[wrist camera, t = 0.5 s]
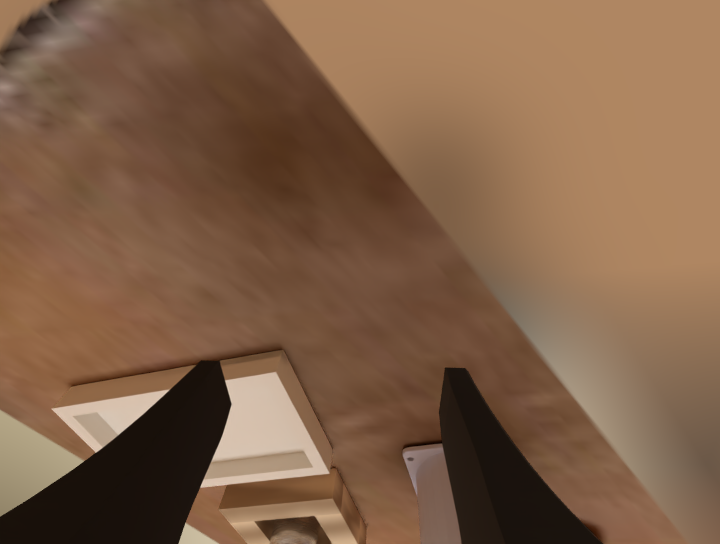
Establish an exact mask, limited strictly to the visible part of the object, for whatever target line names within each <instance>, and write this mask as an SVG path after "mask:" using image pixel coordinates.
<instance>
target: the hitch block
mask: <svg viewBox="0 0 720 544" xmlns="http://www.w3.org/2000/svg"><path fill="white" fill-rule="evenodd" d="M218 510H219V511H220V512H221V513H222V514H223V516H224V517H225V518H226V519H227V520H228V521H229V523H230V524H231V525H232V526H233V527H234V528H235V530H236V531H237V532H238V533H239V534H240V536H241V537H242V538H243V539H244V540H245V541H246V543H247V544H270V540H271V535H272V531H273V527H274V522H275V519H285V518H296V517H308V516H315V517H316V519H317V520H318V522H319V523H320V526H319V534H318V541H317V544H366V526H365V524H364V522H363V520H362V518H361V516H360V514H359V512H358V510H357V508H356V506H355V504H354V502H353V500H352V498H351V496H350V494H349V493H348V491H347V489H346V487H345V485H344V483H343V481H342V479H341V477H340V475H339V473H338V471H337V469H336V468H332V469H330V474H322V475H313V476H303V477H294V478H285V479H275V480H266V481H257V482H247V483H238V484H229V485H227V486H226V489H225V492H224V495H223V498H222V501H221V503H220V506H219V509H218Z"/></svg>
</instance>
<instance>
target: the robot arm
mask: <svg viewBox="0 0 720 544" xmlns="http://www.w3.org/2000/svg"><path fill="white" fill-rule="evenodd" d="M231 405H232V403H231V400H230V396H229V393H228V389H227V386H226V382H225V378H224V375H223V371H222V368H221V364H220V361H202V360H201V361H200V362H199V363H198V364H197V365H196V366H195V367H194V368H193V369H192V370H190V371H189V372H188V373H187V374H186V375H185V376H184V377H183V378H182V379H181V380H180V381H179V382H178V383H177V384H175V385H174V386H173V387H172V388H171V389H170V390H169V391H168V392H167V393H166V394H165V395H164V396H163V397H161V398H160V399H159V400H158V401H157V402H156V403H155V404H154V405H153V406H152V407H150V408H149V409H148V410H147V411H146V412H145V413H144V414H143V415H142V416H140V417H139V418H138V419H137V420H136V421H134V422H133V423H132V424H131V425H130V426H128V427H127V428H126V429H125V430H124V431H123V432H121V433H120V434H119V435H118V436H117V437H115V438H114V439H113V440H112V441H110V442H109V443H108V444H107V445H105V446H104V447H103V448H102V449H100V450H99V451H98V452H96V453H95V454H94V455H92V456H91V457H90V458H88V459H87V460H85V461H84V462H83V463H81V464H80V465H79V466H77V467H76V468H75V469H73V470H72V471H70V472H69V473H68V474H66V475H64V476H63V477H62V478H60V479H58V480H57V481H56V482H54V483H52V484H51V485H49V486H48V487H46V488H45V489H43V490H42V491H40V492H39V493H37V494H36V495H34V496H33V497H31V498H30V499H28V500H27V501H25V502H23V503H22V504H20V505H19V506H17V507H15V508H14V509H12V510H10V511H9V512H7V513H6V514H4V515H2V516H1V517H0V544H178V543H179V540H180V537H181V534H182V531H183V528H184V525H185V522H186V520H187V517H188V515H189V512H190V510H191V507H192V505H193V502H194V500H195V498H196V496H197V493H198V491H199V489H200V486H201V484H202V482H203V480H204V477H205V475H206V473H207V470H208V468H209V466H210V464H211V461H212V459H213V457H214V454H215V452H216V450H217V447H218V445H219V443H220V440H221V438H222V435H223V432H224V429H225V426H226V423H227V419H228V416H229V412H230V409H231ZM439 416H440V427H441V437H442V443H441V444H432V445H423V446H415V447H407V448H405V449H403V457H404V460H405V463H406V466H407V469H408V472H409V475H410V477H411V480H412V483H413V486H414V489H415V492H416V495H417V499H418V513H419V526H420V540H421V544H603V543H602V542H601V541H600V540H599V539H598V538H597V537H596V536H595V535H594V534H593V533H592V532H591V531H590V530H589V529H588V528H587V527H586V526H585V525H584V524H583V523H582V522H581V521H580V520H579V519H578V518H577V517H576V516H575V515H574V514H573V513H572V512H571V511H570V510H569V509H568V508H567V506H566V505H565V504H564V503H563V502H562V501H561V500H560V499H559V498H558V497H557V495H556V494H555V493H554V492H553V491H552V490H551V489H550V488H549V486H548V485H547V484H546V483H545V482H544V481H543V479H542V478H541V477H540V476H539V475H538V473H537V472H536V471H535V470H534V469H533V467H532V466H531V465H530V464H529V462H528V461H527V460H526V459H525V457H524V456H523V455H522V453H521V452H520V451H519V449H518V448H517V447H516V445H515V444H514V443H513V441H512V440H511V439H510V437H509V436H508V434H507V433H506V432H505V430H504V429H503V427H502V426H501V424H500V423H499V421H498V420H497V418H496V417H495V416H494V414H493V413H492V411H491V409H490V408H489V406H488V405H487V403H486V402H485V400H484V398H483V397H482V395H481V393H480V392H479V390H478V388H477V387H476V385H475V383H474V381H473V379H472V378H471V376H470V374H469V372H468V371H467V370H466V369H465V368H445V372H444V380H443V387H442V394H441V402H440V409H439Z"/></svg>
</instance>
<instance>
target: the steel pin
mask: <svg viewBox="0 0 720 544" xmlns="http://www.w3.org/2000/svg"><path fill="white" fill-rule="evenodd" d="M319 526H320V523H319V522H318V520H317V519H316V517H315V516H308V517H296V518H285V519H275V522H274V527H273V531H272V535H271V540H270V544H317V541H318V534H319Z"/></svg>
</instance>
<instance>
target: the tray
mask: <svg viewBox="0 0 720 544" xmlns="http://www.w3.org/2000/svg"><path fill="white" fill-rule="evenodd" d="M220 364H221V368H222V371H223V375H224V378H225V382H226V386H227V389H228V393H229V396H230V400H231V403H232V405H231V409H230V412H229V416H228V419H227V423H226V426H225V429H224V432H223V435H222V438H221V440H220V443H219V445H218V447H217V450H216V452H215V454H214V457H213V459H212V461H211V464H210V466H209V468H208V470H207V473H206V475H205V477H204V480H203V482H202V484H201V486H200V488H201V487H210V486H220V485H229V484H238V483H247V482H257V481H266V480H275V479H285V478H294V477H303V476H313V475H322V474H330V468H331V460H332V452H333V449H332V447H331V445H330V443H329V441H328V439H327V437H326V435H325V433H324V431H323V429H322V427H321V425H320V423H319V421H318V419H317V417H316V415H315V413H314V411H313V409H312V407H311V405H310V403H309V401H308V399H307V397H306V395H305V393H304V390H303V388H302V386H301V384H300V382H299V380H298V378H297V376H296V374H295V372H294V370H293V368H292V366H291V364H290V362H289V360H288V358H287V356H286V354H285V352H284V350H278V351H273V352H267V353H261V354H255V355H250V356H244V357H238V358H232V359H227V360H221V361H220ZM195 366H196V365H192V366H186V367H181V368H175V369H169V370H164V371H158V372H152V373H146V374H141V375H135V376H129V377H123V378H118V379H112V380H106V381H100V382H95V383H89V384H83V385H77V386H72V387H71V388H70V389H69V390H68V391H67V392H66V393H65V394H64V395H63V397H62V398H61V399H60V400H59V401H58V402H57V403H56V404H55V405H54V407H53V408H52V410H53V411H54V412H55V413H56V414H57V415H58V416H59V417H60V418H61V419H62V420H63V421H64V422H65V423H66V424H67V425H68V426H69V427H71V428H72V429H73V430H74V431H75V432H76V433H77V434H78V435H79V436H80V437H81V438H82V439H83V440H84V441H85V442H86V443H87V444H88V445H89V446H90V447H91V448H92V449H93V450H94V451H95V452H98V451H99V450H100V449H102V448H103V447H104V446H105V445H107V444H108V443H109V442H110V441H112V440H113V439H114V438H115V437H117V436H118V435H119V434H120V433H121V432H123V431H124V430H125V429H126V428H127V427H128V426H130V425H131V424H132V423H133V422H134V421H136V420H137V419H138V418H139V417H140V416H142V415H143V414H144V413H145V412H146V411H147V410H148V409H149V408H150V407H152V406H153V405H154V404H155V403H156V402H157V401H158V400H159V399H160V398H161V397H163V396H164V395H165V394H166V393H167V392H168V391H169V390H170V389H171V388H172V387H173V386H174V385H175V384H177V383H178V382H179V381H180V380H181V379H182V378H183V377H184V376H185V375H186V374H187V373H188V372H189V371H190V370H192V369H193V368H194V367H195Z"/></svg>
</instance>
